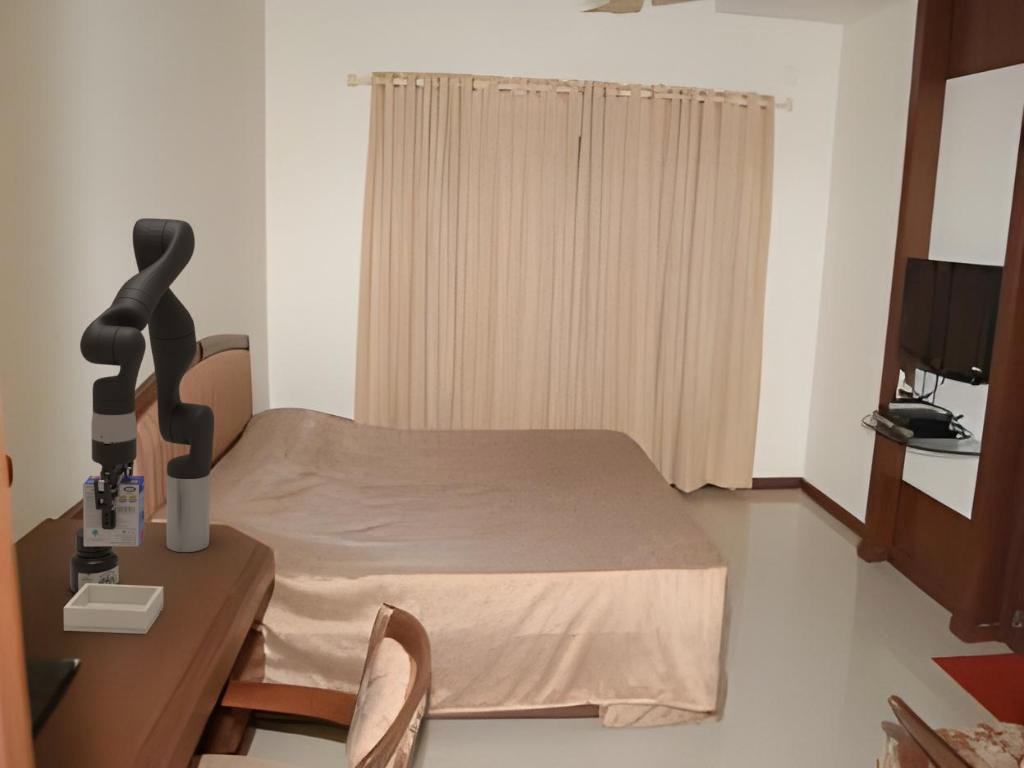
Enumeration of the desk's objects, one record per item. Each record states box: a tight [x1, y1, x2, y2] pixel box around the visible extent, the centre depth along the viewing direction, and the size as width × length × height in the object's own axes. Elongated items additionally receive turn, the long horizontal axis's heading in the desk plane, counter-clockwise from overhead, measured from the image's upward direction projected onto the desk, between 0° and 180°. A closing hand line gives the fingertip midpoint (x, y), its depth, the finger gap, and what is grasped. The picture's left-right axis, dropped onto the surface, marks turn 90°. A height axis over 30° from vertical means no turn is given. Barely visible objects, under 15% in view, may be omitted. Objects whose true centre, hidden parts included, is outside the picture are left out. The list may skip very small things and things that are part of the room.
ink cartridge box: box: [82, 465, 146, 547], centre depth 169 cm, size 10×6×14 cm, turn 102°
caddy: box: [63, 583, 164, 635], centre depth 173 cm, size 11×15×4 cm
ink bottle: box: [69, 527, 120, 594], centre depth 184 cm, size 10×9×12 cm
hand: (114, 522), depth 170 cm, fingers closed on ink cartridge box, 5 cm apart
